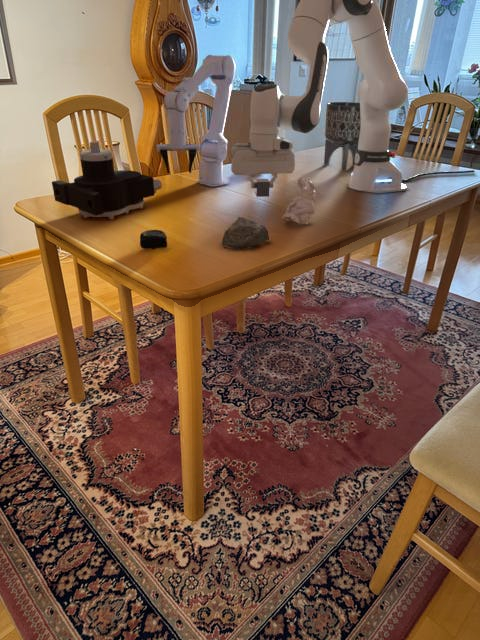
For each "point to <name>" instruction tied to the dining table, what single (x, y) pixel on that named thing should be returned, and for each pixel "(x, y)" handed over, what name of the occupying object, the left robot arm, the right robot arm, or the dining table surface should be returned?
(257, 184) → the brick
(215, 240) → the dining table surface
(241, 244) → the rock
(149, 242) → the tape measure
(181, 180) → the dining table surface
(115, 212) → the mechanical component
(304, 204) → the figurine
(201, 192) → the dining table surface
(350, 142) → the planter
